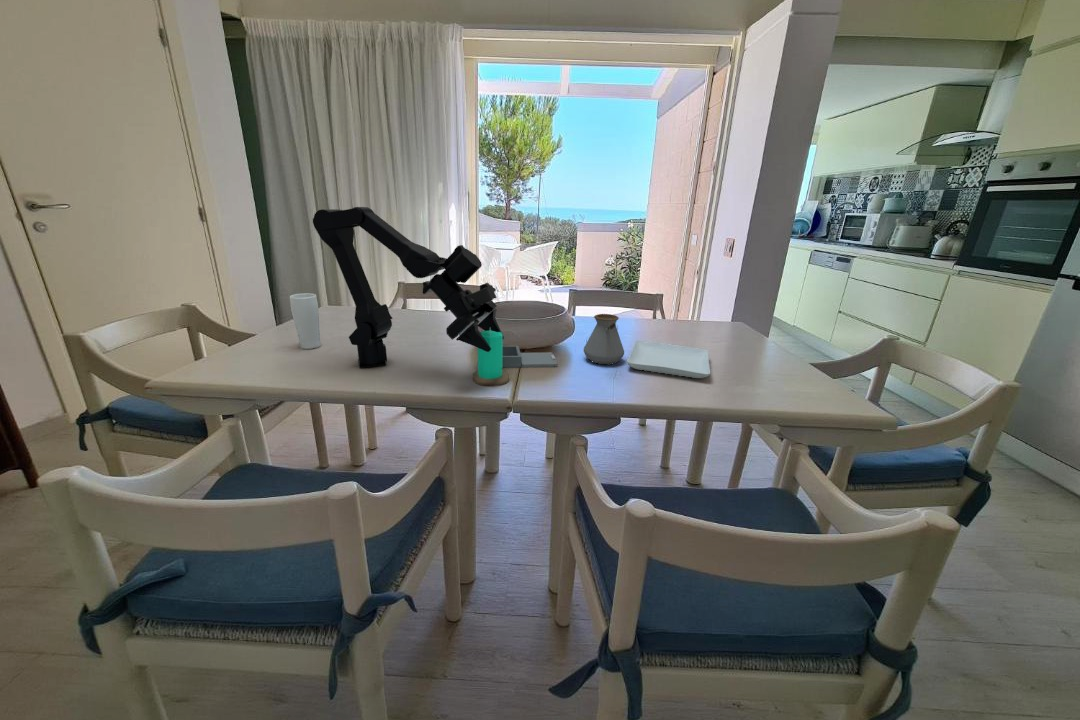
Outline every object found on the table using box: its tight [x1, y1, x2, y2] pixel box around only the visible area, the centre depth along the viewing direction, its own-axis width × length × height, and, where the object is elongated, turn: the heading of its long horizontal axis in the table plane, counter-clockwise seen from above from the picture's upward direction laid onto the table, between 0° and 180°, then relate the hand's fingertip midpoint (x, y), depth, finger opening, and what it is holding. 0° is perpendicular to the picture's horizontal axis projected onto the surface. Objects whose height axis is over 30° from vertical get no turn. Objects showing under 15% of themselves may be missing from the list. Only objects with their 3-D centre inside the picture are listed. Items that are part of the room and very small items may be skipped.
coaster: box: [472, 368, 510, 387], centre depth 106 cm, size 9×9×1 cm
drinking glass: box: [289, 292, 322, 350], centre depth 122 cm, size 7×7×15 cm
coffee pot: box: [583, 313, 625, 365], centre depth 115 cm, size 21×12×15 cm, turn 177°
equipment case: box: [502, 345, 559, 369], centre depth 119 cm, size 19×10×3 cm, turn 98°
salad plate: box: [626, 339, 711, 379], centre depth 121 cm, size 21×21×3 cm
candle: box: [477, 330, 504, 379], centre depth 104 cm, size 6×6×12 cm
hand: (496, 344), depth 103 cm, fingers open, 9 cm apart
